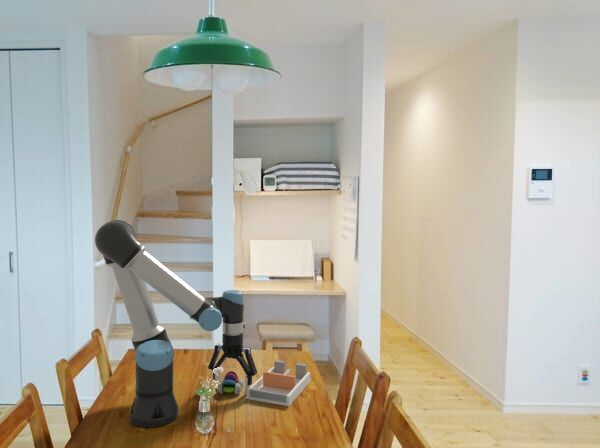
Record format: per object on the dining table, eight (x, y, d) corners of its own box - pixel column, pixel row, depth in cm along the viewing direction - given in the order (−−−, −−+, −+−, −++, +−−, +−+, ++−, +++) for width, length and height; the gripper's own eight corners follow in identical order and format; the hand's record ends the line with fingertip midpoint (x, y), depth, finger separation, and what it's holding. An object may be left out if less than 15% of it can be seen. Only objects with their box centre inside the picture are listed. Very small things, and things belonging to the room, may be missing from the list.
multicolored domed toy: (244, 387, 175) (245, 368, 174) (238, 397, 165) (239, 378, 165) (222, 385, 176) (223, 367, 175) (215, 396, 166) (216, 376, 166)
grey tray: (289, 406, 159) (289, 387, 158) (246, 399, 164) (247, 381, 164) (310, 381, 181) (310, 364, 181) (272, 375, 187) (272, 359, 186)
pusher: (294, 390, 169) (294, 377, 169) (262, 385, 173) (263, 372, 173) (304, 379, 179) (304, 367, 179) (274, 375, 184) (274, 362, 183)
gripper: (266, 333, 169) (266, 391, 170) (209, 326, 177) (208, 382, 178) (258, 339, 162) (257, 399, 163) (198, 331, 170) (198, 389, 171)
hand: (232, 390), depth 170 cm, fingers open, 12 cm apart
